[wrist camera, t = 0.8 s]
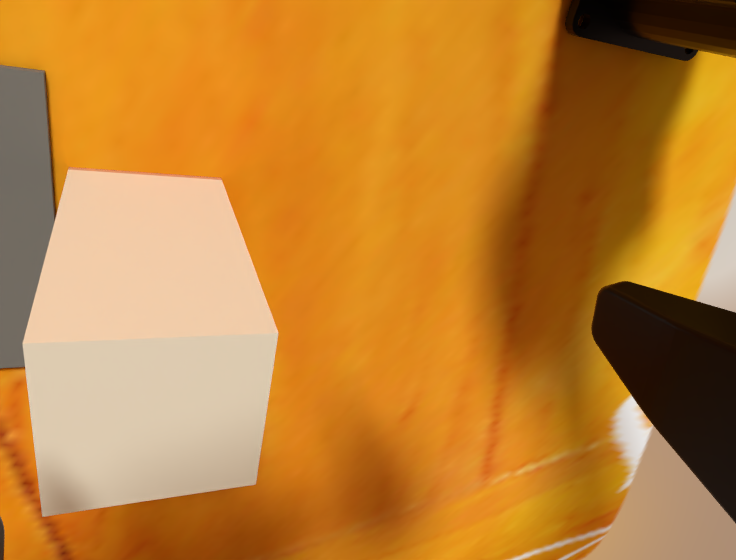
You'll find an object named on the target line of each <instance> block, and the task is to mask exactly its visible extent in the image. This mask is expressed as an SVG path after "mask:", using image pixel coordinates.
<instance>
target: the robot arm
mask: <svg viewBox="0 0 736 560" xmlns="http://www.w3.org/2000/svg"><path fill="white" fill-rule="evenodd" d="M582 15H583V22H582V23H581V25H580V26H579V25H578V22H579V19H580V17H581V16H582ZM565 26H566V30H567V32H568V33H569V34H571V35H575V36H579V37H583V38H588V39H592V40H596V41H601V42H605V43H609V44H614V45H618V46H622V47H627V48H631V49H635V50H640V51H644V52H649V53H653V54H657V55H662V56H666V57H670V58H675V59H679V60H683V61H688V60H690V59H692V58H693V57H694V56H695V55H696V53H697V52H698V50H700V51H705V52H709V53H714V54H719V55H724V56H729V57H734V58H736V0H572V2H571V5H570V8H569V11H568V14H567V17H566V22H565ZM685 48H686V49H685ZM591 329H592V335H593V338H594V340H595V342H596V344H597V345H598V347H599V348H600V350H601V351H602V353H603V354H604V356H605V357H606V359H607V360H608V361H609V363H610V364H611V366H612V367H613V369H614V370H615V372H616V373H617V375H618V376H619V377H620V379H621V380H622V382H623V383H624V385H625V386H626V388H627V389H628V391H629V392H630V393H631V395H632V396H633V398H634V399H635V401H636V402H637V404H638V405H639V407H640V408H641V409H642V411H643V412H644V413H645V415H646V416H647V418H648V419H649V420H650V421H651V423H652V424H653V425H654V426H655V428H656V429H657V430H658V431H659V433H660V434H661V435H662V436H663V437H664V438H665V440H666V441H667V442H668V443H669V444H670V446H671V447H672V448H673V449H674V450H675V451H676V453H677V454H678V455H679V456H680V458H681V459H682V460H683V461H684V462H685V463H686V465H687V466H688V467H689V468H690V470H691V471H692V472H693V473H694V474H695V475H696V477H697V478H698V479H699V480H700V481H701V482H702V484H703V485H704V486H705V487H706V489H707V490H708V491H709V492H710V493H711V494H712V496H713V497H714V498H715V499H716V500H717V502H718V503H719V504H720V505H721V506H722V507H723V509H724V510H725V511H726V512H727V513H728V515H729V516H730V517H731V518H732V519H733V521H734V522H735V523H736V313H735V312H732V311H728V310H725V309H721V308H718V307H714V306H711V305H707V304H704V303H701V302H697V301H694V300H690V299H687V298H684V297H680V296H677V295H673V294H670V293H666V292H663V291H660V290H656V289H653V288H649V287H646V286H642V285H639V284H636V283H632V282H628V281H622V282H618V283H615V284H611V285H608V286H605V287H603V288H601V290H600V291H599V293H598V295H597V300H596V306H595V311H594V316H593V321H592V328H591ZM0 560H4V526H3V522H2V519H1V517H0Z"/></svg>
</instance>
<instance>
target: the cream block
mask: <svg viewBox="0 0 736 560" xmlns="http://www.w3.org/2000/svg"><path fill="white" fill-rule="evenodd" d="M277 339H278V331H277V328H276V325H275V323H274V320H273V317H272V315H271V312H270V309H269V306H268V304H267V301H266V298H265V296H264V293H263V290H262V288H261V285H260V282H259V279H258V277H257V274H256V271H255V269H254V266H253V263H252V261H251V258H250V255H249V252H248V250H247V247H246V244H245V242H244V239H243V236H242V234H241V231H240V228H239V225H238V223H237V220H236V217H235V215H234V212H233V209H232V206H231V204H230V201H229V198H228V196H227V193H226V190H225V188H224V185H223V182H222V179H221V178H215V177H201V176H186V175H172V174H158V173H144V172H130V171H116V170H102V169H87V168H73V167H69V169H68V173H67V177H66V180H65V184H64V188H63V192H62V196H61V199H60V203H59V207H58V211H57V215H56V218H55V222H54V226H53V230H52V234H51V237H50V241H49V245H48V249H47V253H46V256H45V260H44V264H43V268H42V272H41V275H40V279H39V283H38V287H37V291H36V294H35V298H34V302H33V306H32V310H31V313H30V317H29V321H28V325H27V328H26V332H25V336H24V340H23V352H24V361H25V370H26V378H27V387H28V396H29V404H30V413H31V422H32V430H33V439H34V448H35V456H36V465H37V474H38V482H39V491H40V500H41V508H42V517H44V516H50V515H57V514H64V513H70V512H77V511H84V510H90V509H97V508H103V507H110V506H117V505H123V504H130V503H137V502H143V501H150V500H156V499H163V498H170V497H176V496H183V495H190V494H196V493H203V492H210V491H216V490H223V489H229V488H236V487H243V486H249V485H256V479H257V473H258V466H259V459H260V453H261V446H262V439H263V432H264V426H265V419H266V412H267V406H268V399H269V392H270V386H271V379H272V372H273V366H274V359H275V352H276V346H277Z"/></svg>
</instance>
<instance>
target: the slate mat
mask: <svg viewBox="0 0 736 560" xmlns="http://www.w3.org/2000/svg"><path fill="white" fill-rule="evenodd" d="M54 222H55V204H54V190H53V176H52V162H51V148H50V134H49V120H48V106H47V93H46V79H45V71H42V70H34V69H27V68H19V67H11V66H4V65H0V368H13V367H25V361H24V352H23V340H24V336H25V332H26V328H27V325H28V321H29V317H30V313H31V310H32V306H33V302H34V298H35V294H36V291H37V287H38V283H39V279H40V275H41V272H42V268H43V264H44V260H45V256H46V253H47V249H48V245H49V241H50V237H51V234H52V230H53V226H54Z"/></svg>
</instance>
